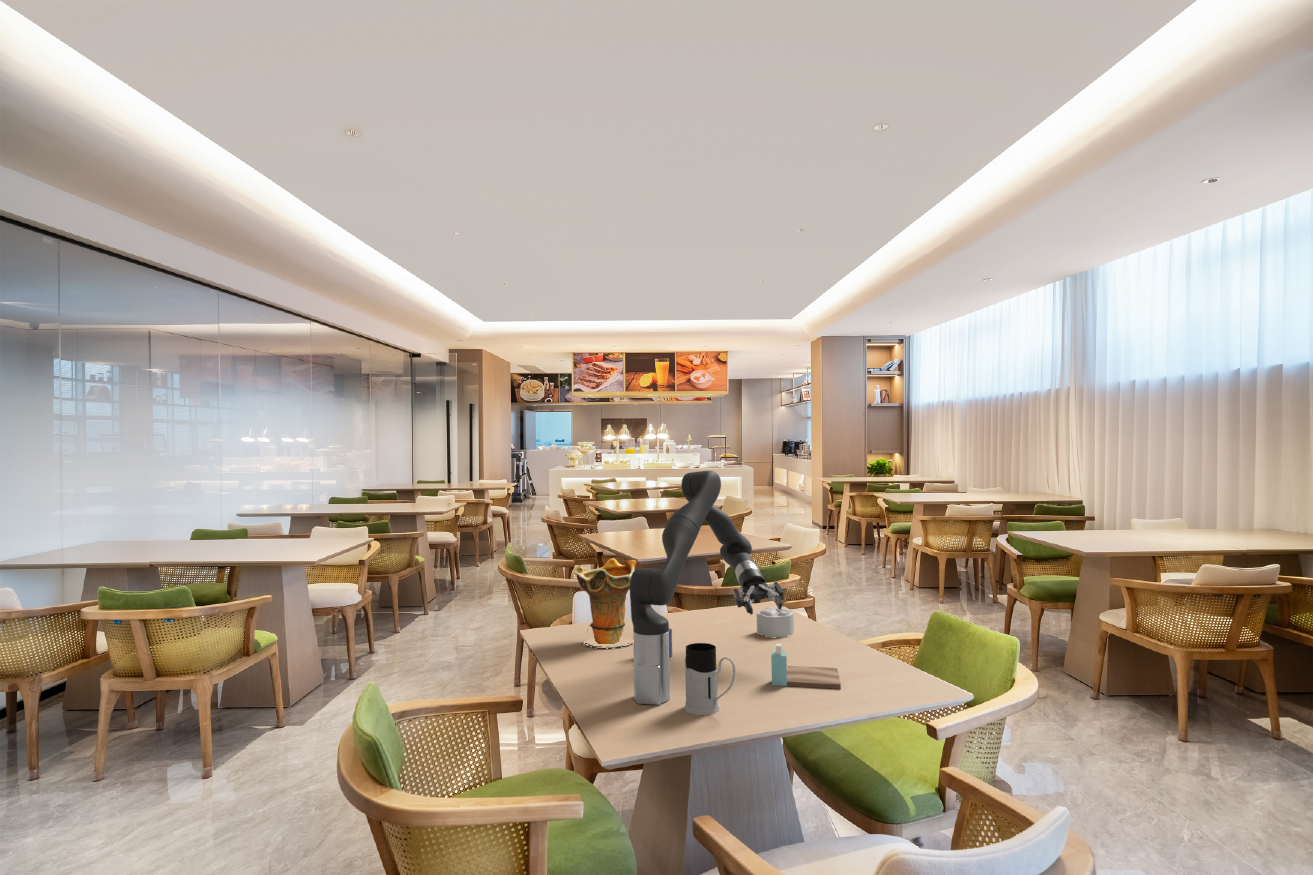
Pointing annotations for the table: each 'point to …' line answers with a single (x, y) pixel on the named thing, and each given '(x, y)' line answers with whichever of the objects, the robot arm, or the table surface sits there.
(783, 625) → the lumpy-topped squat cylinder
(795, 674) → the walnut board
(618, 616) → the decorative vase
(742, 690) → the table surface
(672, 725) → the table surface
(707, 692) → the glass holder
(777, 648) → the teal bottle
